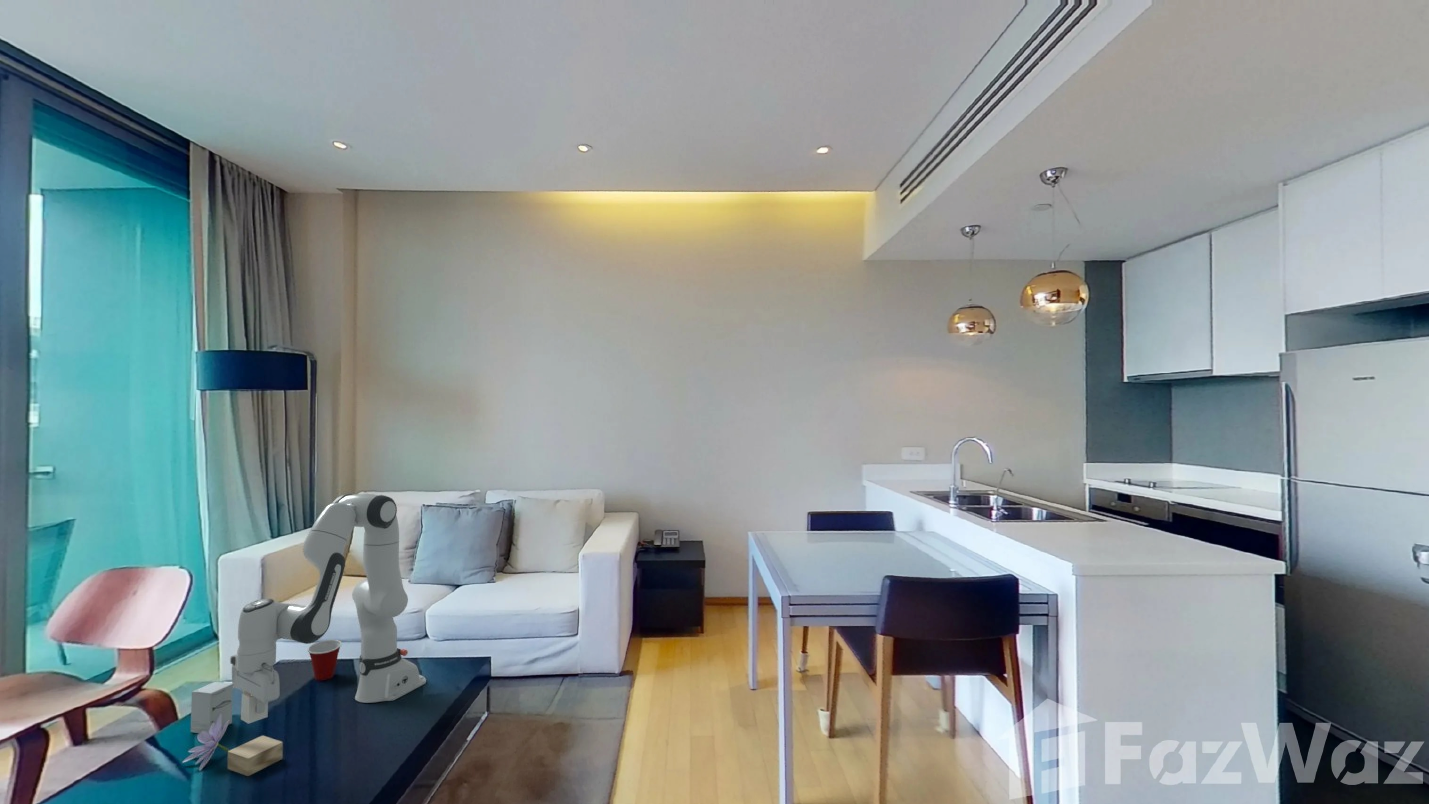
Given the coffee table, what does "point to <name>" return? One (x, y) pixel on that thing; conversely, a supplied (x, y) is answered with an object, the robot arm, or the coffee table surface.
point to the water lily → (208, 743)
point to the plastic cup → (324, 658)
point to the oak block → (255, 755)
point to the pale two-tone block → (251, 709)
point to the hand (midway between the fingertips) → (254, 709)
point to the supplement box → (211, 706)
